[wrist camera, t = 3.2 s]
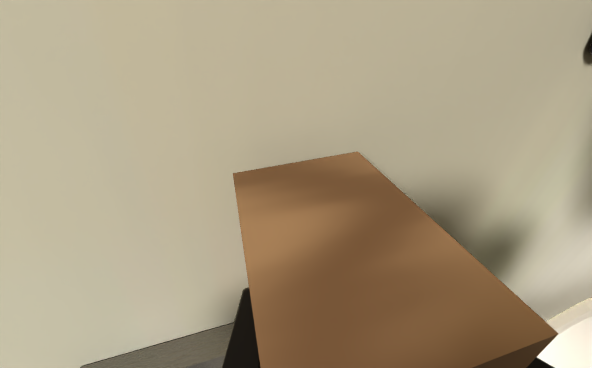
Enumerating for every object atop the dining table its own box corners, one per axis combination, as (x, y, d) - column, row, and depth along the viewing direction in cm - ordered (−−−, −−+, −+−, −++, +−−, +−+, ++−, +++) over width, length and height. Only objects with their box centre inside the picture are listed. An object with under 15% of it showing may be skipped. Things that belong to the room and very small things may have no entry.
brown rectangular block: (357, 151, 8) (559, 333, 4) (344, 299, 13) (426, 471, 8) (232, 173, 8) (271, 445, 3) (264, 322, 12) (300, 530, 7)
